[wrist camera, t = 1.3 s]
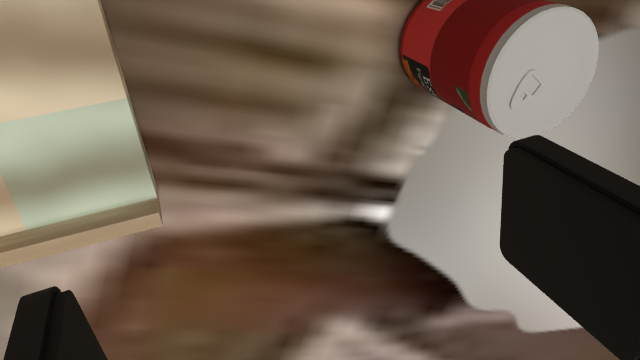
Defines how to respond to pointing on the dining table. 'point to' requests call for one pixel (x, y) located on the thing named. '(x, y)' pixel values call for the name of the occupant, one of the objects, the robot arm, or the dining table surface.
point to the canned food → (502, 60)
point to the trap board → (66, 134)
